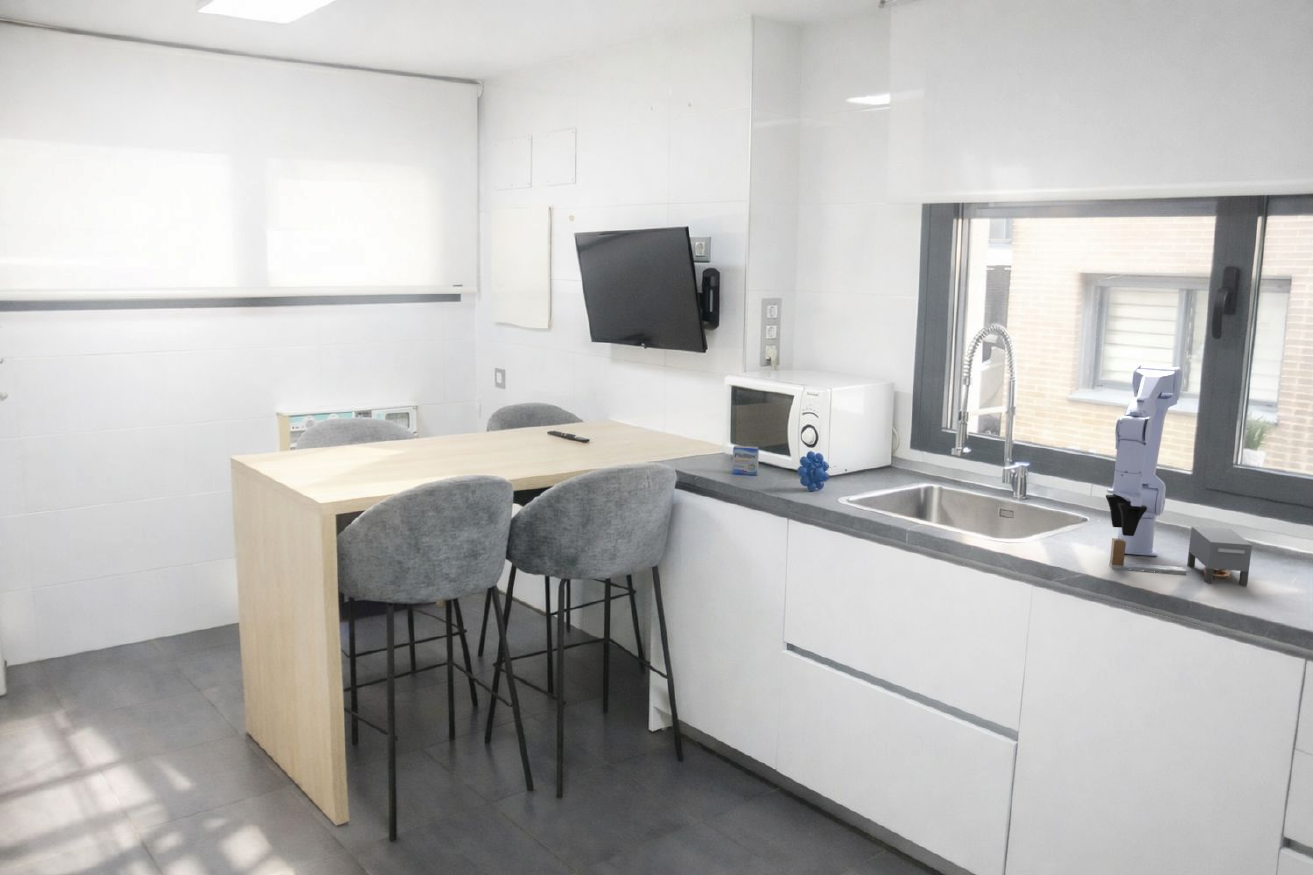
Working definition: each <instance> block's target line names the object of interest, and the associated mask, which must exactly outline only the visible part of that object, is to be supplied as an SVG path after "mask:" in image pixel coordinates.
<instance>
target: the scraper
mask: <svg viewBox="0 0 1313 875" xmlns="http://www.w3.org/2000/svg"><path fill="white" fill-rule="evenodd" d="M1125 547H1126V541H1125V540H1124V539H1118V537H1117V538H1116V537H1113V538H1111V546H1110V555H1109V557H1110V558H1109V564H1108V566H1109V567H1110V566H1111V567H1110V568H1111V570H1122V569H1131V570H1130V571H1134V570H1144V571H1143V572H1146V571H1153V572H1152V573H1158V572H1163V573H1162V574H1170V573H1173V575H1183V574H1185V576H1187V573H1188V572H1187V570H1186V569H1185V567H1183V566H1182V567H1180V566H1171V565H1157V564H1156V565H1155V564H1147V563H1146V564H1145V563H1134V562H1133V563H1132V562H1125V555H1126V554H1125ZM1154 571H1155V572H1154Z"/></svg>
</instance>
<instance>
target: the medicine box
mask: <svg viewBox="0 0 1313 875" xmlns="http://www.w3.org/2000/svg"><path fill="white" fill-rule="evenodd" d="M759 450H760V446H747V445H745V446H744V445H734V446H733V448H732V465H731V466H732V467H731V469H732V470H731V474H732V475H736V476H737V475H739V476H753V477H755V476H756V477H757V475H758V474H759V473H758V472H759V458H760V457H759V454H760V453H759V452H760V451H759Z"/></svg>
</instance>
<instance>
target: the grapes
mask: <svg viewBox="0 0 1313 875" xmlns="http://www.w3.org/2000/svg"><path fill="white" fill-rule="evenodd" d="M799 464H800V466H799V467H797V471H796V472H797V474H798V476H800V477H801V478H800V479H799V480H800V481H799V483H800V484H801V486H803V487H806V488H807V490H809V491H810V492H814V491H816V490H822V489H823V488H824V486H825V483H826V482H827V481H828V480H829V477H830V476H829V473H828V472H827V471H828V470H829V468H830V467H829V465H830V464H829V463H828V462H827V461H826V460H825V459H824V456H823V454H822V453H821V452H818V453H815V452H813V451H812V450H809V451H808V452H807V453H806V456H801V457H800V459H799Z"/></svg>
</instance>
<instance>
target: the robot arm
mask: <svg viewBox="0 0 1313 875" xmlns="http://www.w3.org/2000/svg"><path fill="white" fill-rule="evenodd" d="M1182 380H1183V370H1182V369H1181V367H1180V366H1176V367H1172V366H1170V367H1169V366H1156V365H1155V366H1154V365H1142V364H1137V365H1136V366H1135V367H1134V370H1133V372H1132V380H1131V381H1132V384H1131V385H1132V389H1133V396H1134V397H1133V398H1132V399H1131V400H1130V401H1129V403H1128V406H1127V407H1126V410H1125V412H1124V415H1122V417H1118V418H1117V421H1116V424H1115V429H1114V430H1115V432H1114V434H1115V435H1114V436H1115V447H1114V448H1115V450H1116V454H1115V455H1116V456H1115V464H1114V477H1113V483H1112V486H1111V488H1107V489H1106V493H1108V494H1105V498H1106V500H1107V503H1108V506H1109V511H1110V518H1111V525H1112V527H1113V528H1118V529H1117V530H1118V531H1117V539H1124V540H1125V541H1126V547H1125V555H1135V556H1136V555H1138V556H1147V557H1149V556H1151V557H1158V553H1157V552H1156V551H1155V549H1153V547H1154V538H1155V528H1156V521H1157V520H1156V519H1157V517H1159V516H1161V515H1162V514H1163V513H1164V510H1165V504H1166V491H1167V487H1166V484H1165V482H1164V481H1163V480H1162V479H1161V478H1160V477H1159V476H1157V475H1156V472H1157V466H1158V460H1159V454H1160V448H1161V443H1162V436H1163V430H1164V426H1165V425H1164V424H1165V418H1166V415H1167V412H1168V410H1169V408H1170V407H1172V406H1176V405H1177V404H1178V401H1179V399H1180V394H1181V387H1182Z"/></svg>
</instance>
